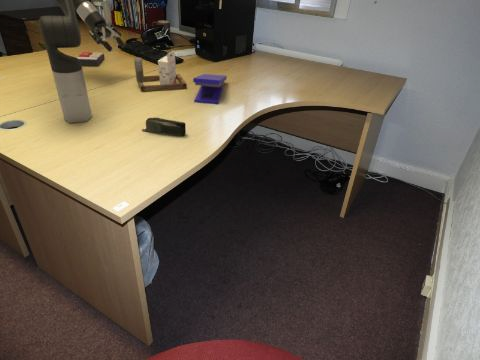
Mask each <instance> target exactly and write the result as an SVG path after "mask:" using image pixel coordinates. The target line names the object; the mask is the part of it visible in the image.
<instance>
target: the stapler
mask: <svg viewBox="0 0 480 360" xmlns="http://www.w3.org/2000/svg"><path fill="white" fill-rule="evenodd" d="M227 77H228V76H227V75H222V74H221V75H220V74H210V73H203V74H200V75H198V76H195V77H193V79H192V81H193V82H192V83H194V86H199V89H198V92H197V93H196V96H195V97H194V100H193V103H196V102H197V103H199V104H209V105H210V104H211V105H219V102H220V100H221V95H222V91H223V89H224V85H225V81H226V80H227ZM197 103H196V104H197Z"/></svg>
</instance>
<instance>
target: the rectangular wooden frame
mask: <svg viewBox="0 0 480 360" xmlns="http://www.w3.org/2000/svg"><path fill="white" fill-rule="evenodd" d="M133 61H134V69H135V77H136V78H135V79H136V82H137V84H138V86H139V89H140V91H141V92H149V91H150V92H151V91H164V90H165V91H167V90H179V89H181V90H182V89H187V87H188V86H187V85H188V84H187V82H186V81H185V80H184V78H183V77H182V76H181V74H180V73H179V74H178V73H177V74H176V81H178V82H179V83H175V84H164V85H160V84H152V85H144V82H152V81H160V78H159V74H157V75H144V68H143V67H144V66H143V58H142V57H137V56H136V57H134V58H133Z"/></svg>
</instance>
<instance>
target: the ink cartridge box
mask: <svg viewBox="0 0 480 360" xmlns="http://www.w3.org/2000/svg"><path fill="white" fill-rule="evenodd" d="M175 55H176V54H175V50H174V49H173V50H172V51H170V52H169V53H167V54H166V55H164V56H163V57H161V58H160V59H159V60H157V66H158V75H159V78H160V80H159V85H164V84H177V79H176V73H177V70H176V56H175Z"/></svg>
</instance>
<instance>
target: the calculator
mask: <svg viewBox="0 0 480 360" xmlns="http://www.w3.org/2000/svg"><path fill="white" fill-rule="evenodd" d="M76 58H78V59H79V60H80V61H81V64H82V67H88V68H98V67H100V65H101V63H103V62H104V60H105V54H104V53H103V52H90V51H88V52H87V51H83V52H82V53H80V54H79V55H77V56H76Z"/></svg>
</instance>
